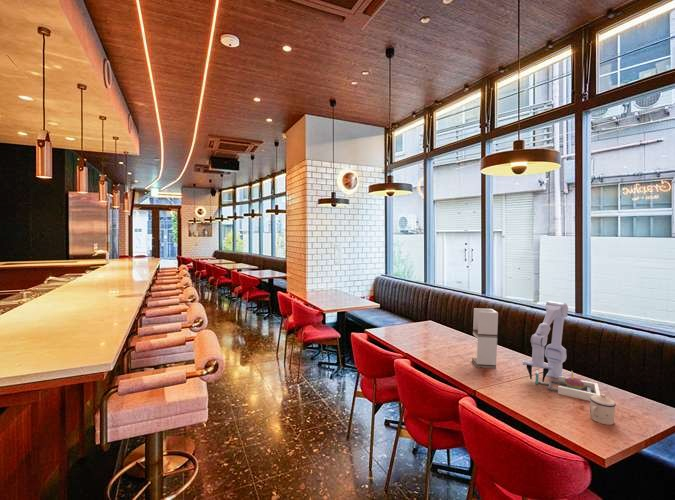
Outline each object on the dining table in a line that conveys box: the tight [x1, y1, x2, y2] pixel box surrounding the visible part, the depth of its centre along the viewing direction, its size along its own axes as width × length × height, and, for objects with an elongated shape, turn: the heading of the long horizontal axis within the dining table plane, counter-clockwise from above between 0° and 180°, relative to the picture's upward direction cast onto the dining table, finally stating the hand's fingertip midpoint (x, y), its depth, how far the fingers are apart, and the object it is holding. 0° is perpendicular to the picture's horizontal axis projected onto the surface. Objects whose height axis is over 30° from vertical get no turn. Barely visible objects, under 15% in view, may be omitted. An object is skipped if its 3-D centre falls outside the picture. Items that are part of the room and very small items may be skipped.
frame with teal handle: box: [535, 370, 592, 393], centre depth 183 cm, size 13×25×6 cm, turn 56°
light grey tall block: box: [471, 307, 499, 369], centre depth 216 cm, size 11×11×35 cm
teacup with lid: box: [589, 393, 617, 426], centre depth 152 cm, size 12×9×12 cm
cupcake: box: [565, 370, 584, 391], centre depth 180 cm, size 9×8×12 cm
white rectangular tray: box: [557, 375, 601, 402], centre depth 179 cm, size 17×18×4 cm
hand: (536, 380), depth 190 cm, fingers open, 5 cm apart
